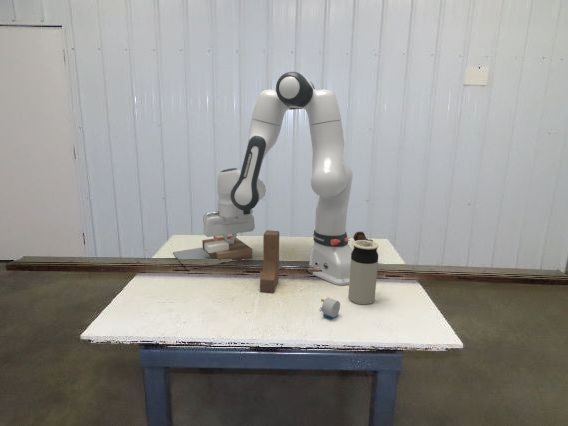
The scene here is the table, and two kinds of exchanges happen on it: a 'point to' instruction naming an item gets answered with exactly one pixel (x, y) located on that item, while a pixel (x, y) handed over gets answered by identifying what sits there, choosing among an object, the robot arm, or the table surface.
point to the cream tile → (216, 246)
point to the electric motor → (330, 307)
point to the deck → (231, 251)
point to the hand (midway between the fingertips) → (229, 244)
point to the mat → (192, 254)
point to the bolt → (360, 236)
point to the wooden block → (270, 261)
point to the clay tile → (220, 238)
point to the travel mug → (363, 272)
